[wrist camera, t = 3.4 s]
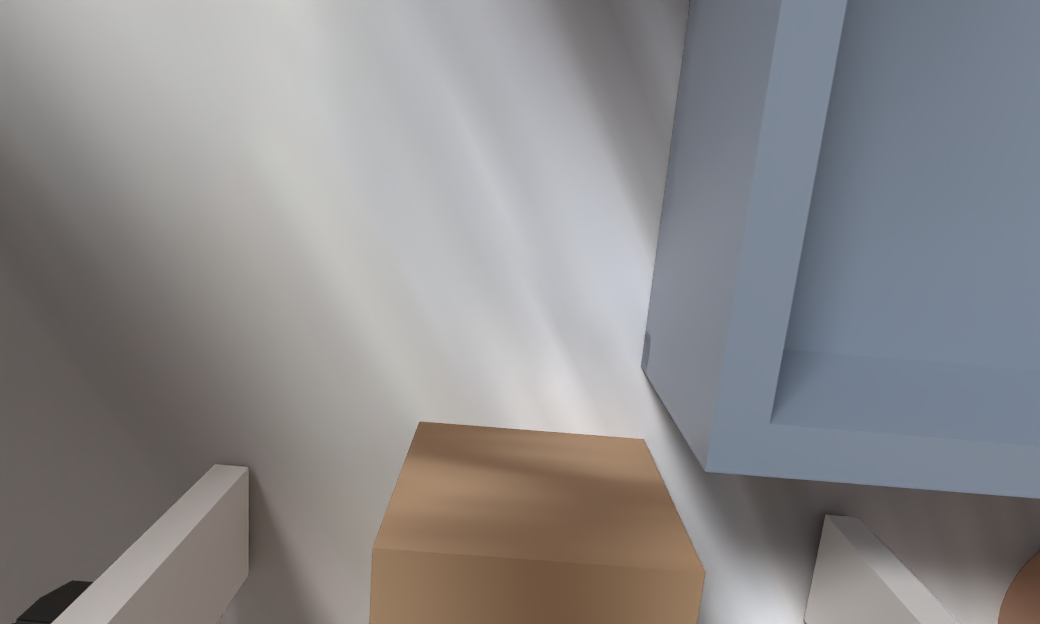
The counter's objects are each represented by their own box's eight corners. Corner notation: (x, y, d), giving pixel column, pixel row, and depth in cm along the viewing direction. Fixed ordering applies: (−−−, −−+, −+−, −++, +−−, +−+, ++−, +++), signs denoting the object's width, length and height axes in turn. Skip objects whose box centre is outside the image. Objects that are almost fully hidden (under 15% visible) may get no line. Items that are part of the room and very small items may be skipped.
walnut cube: (408, 616, 16) (361, 818, 11) (420, 420, 15) (372, 548, 10) (616, 631, 16) (661, 837, 11) (643, 437, 15) (705, 572, 10)
